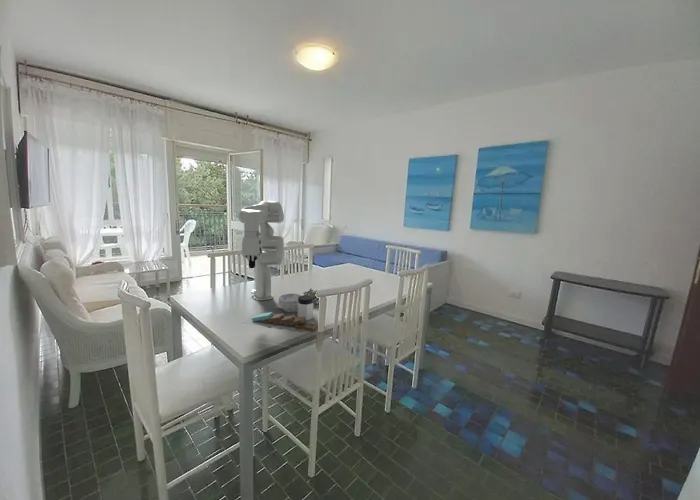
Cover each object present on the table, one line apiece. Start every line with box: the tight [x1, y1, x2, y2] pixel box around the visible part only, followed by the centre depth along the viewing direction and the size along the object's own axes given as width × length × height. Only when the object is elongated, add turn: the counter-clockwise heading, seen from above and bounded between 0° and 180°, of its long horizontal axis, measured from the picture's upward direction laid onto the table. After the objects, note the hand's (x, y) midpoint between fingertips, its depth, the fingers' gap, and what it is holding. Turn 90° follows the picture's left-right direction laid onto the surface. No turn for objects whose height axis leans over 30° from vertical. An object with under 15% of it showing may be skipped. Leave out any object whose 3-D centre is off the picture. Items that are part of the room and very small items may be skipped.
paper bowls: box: [278, 293, 303, 313], centre depth 171 cm, size 15×15×8 cm
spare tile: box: [252, 311, 275, 322], centre depth 152 cm, size 2×5×10 cm
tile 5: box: [295, 321, 318, 332], centre depth 147 cm, size 2×5×10 cm
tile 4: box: [284, 317, 306, 326], centre depth 149 cm, size 2×5×10 cm
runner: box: [242, 314, 297, 331], centre depth 152 cm, size 29×10×1 cm, turn 77°
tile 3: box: [273, 314, 296, 325], centre depth 150 cm, size 2×5×10 cm
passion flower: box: [302, 288, 320, 307], centre depth 182 cm, size 11×11×12 cm
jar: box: [296, 294, 314, 322], centre depth 159 cm, size 9×8×12 cm
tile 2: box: [262, 313, 285, 323], centre depth 151 cm, size 2×5×10 cm
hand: (252, 267), depth 156 cm, fingers closed
